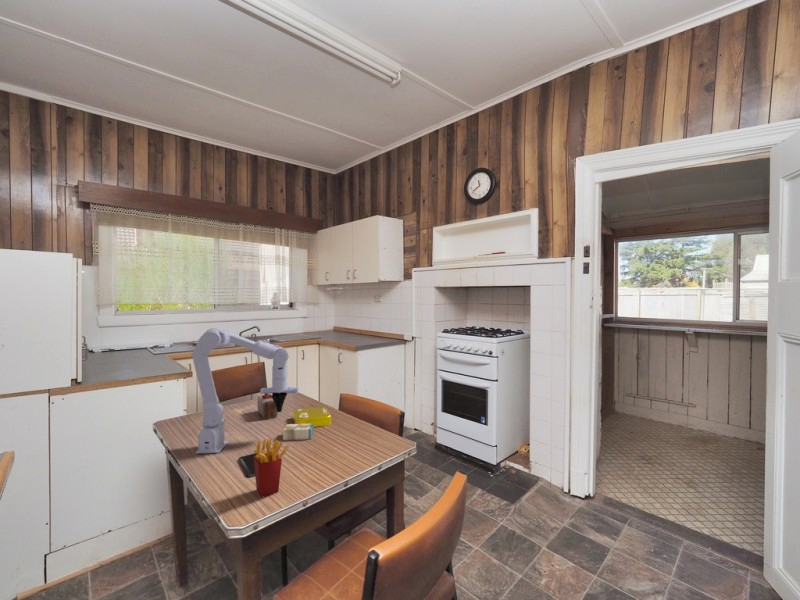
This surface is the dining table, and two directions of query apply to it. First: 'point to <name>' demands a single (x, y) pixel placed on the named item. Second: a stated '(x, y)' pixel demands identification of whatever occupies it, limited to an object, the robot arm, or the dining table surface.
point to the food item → (267, 406)
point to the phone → (248, 464)
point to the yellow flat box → (312, 416)
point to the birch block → (298, 431)
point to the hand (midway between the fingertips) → (279, 411)
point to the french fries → (268, 467)
